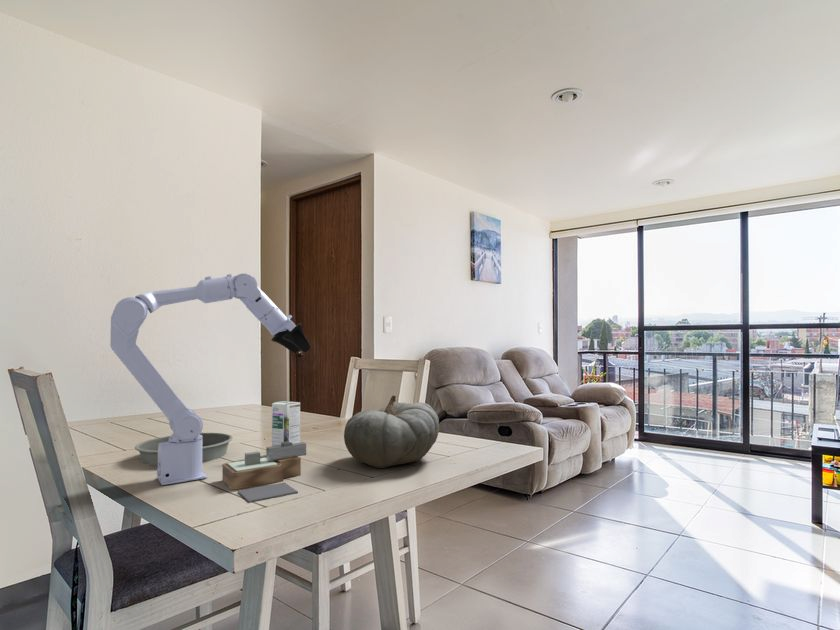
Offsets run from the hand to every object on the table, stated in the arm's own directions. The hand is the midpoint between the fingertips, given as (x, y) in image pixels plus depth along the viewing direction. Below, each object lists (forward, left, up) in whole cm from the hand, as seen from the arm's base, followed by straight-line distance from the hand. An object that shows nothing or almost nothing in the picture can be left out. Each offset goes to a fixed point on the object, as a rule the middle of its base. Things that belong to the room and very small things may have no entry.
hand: (302, 350), depth 132 cm
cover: (-16, -10, -26) cm, 32 cm away
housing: (-14, -10, -29) cm, 34 cm away
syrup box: (-1, +10, -29) cm, 31 cm away
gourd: (+18, -15, -29) cm, 38 cm away
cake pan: (-24, +26, -30) cm, 46 cm away
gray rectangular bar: (-8, -10, -25) cm, 28 cm away
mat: (-16, -21, -29) cm, 39 cm away
